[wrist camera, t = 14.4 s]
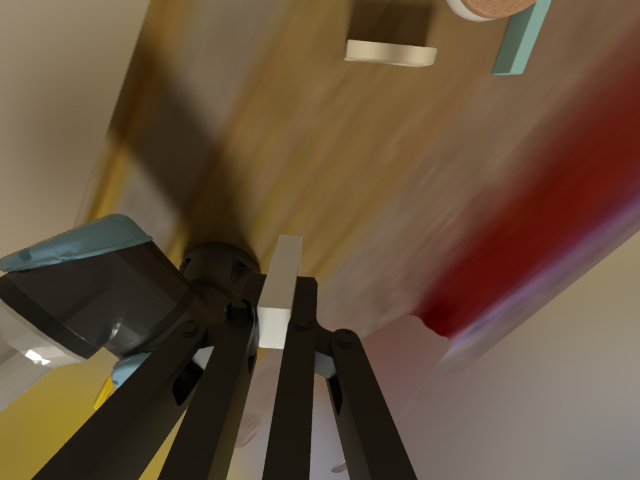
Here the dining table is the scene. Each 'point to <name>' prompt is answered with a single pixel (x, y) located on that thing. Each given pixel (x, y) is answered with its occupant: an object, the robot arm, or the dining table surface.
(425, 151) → the dining table surface
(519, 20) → the bar
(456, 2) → the lidded jar
